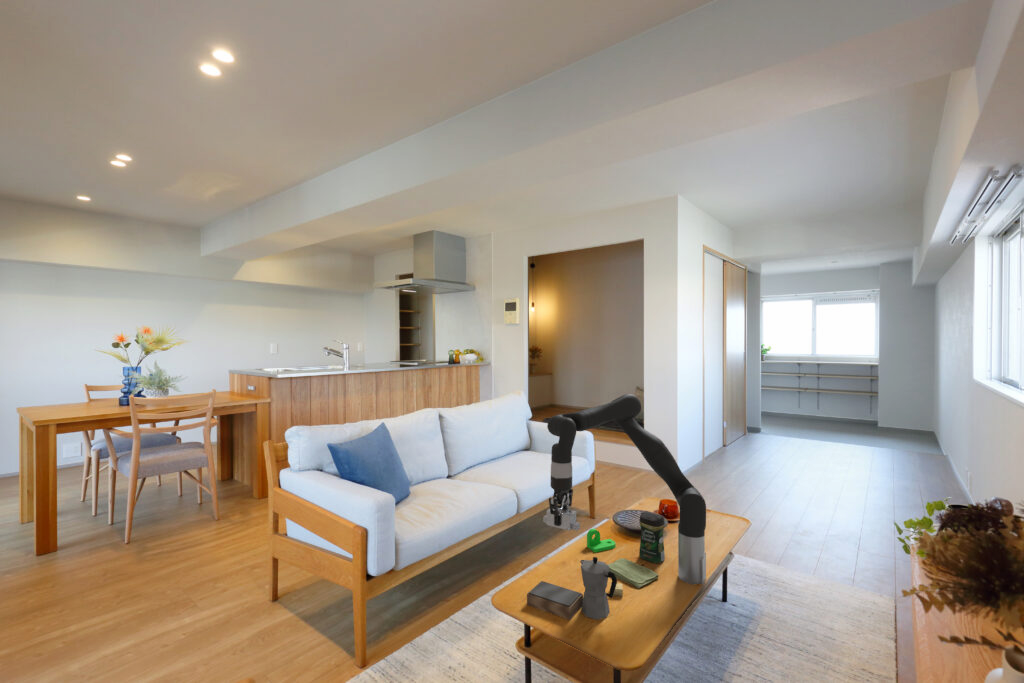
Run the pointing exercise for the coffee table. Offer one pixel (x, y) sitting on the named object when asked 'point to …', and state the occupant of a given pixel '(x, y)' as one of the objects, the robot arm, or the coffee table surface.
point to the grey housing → (563, 520)
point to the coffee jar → (652, 537)
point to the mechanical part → (598, 542)
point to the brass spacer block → (618, 590)
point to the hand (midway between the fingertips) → (561, 522)
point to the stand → (555, 600)
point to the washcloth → (632, 572)
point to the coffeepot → (596, 588)
